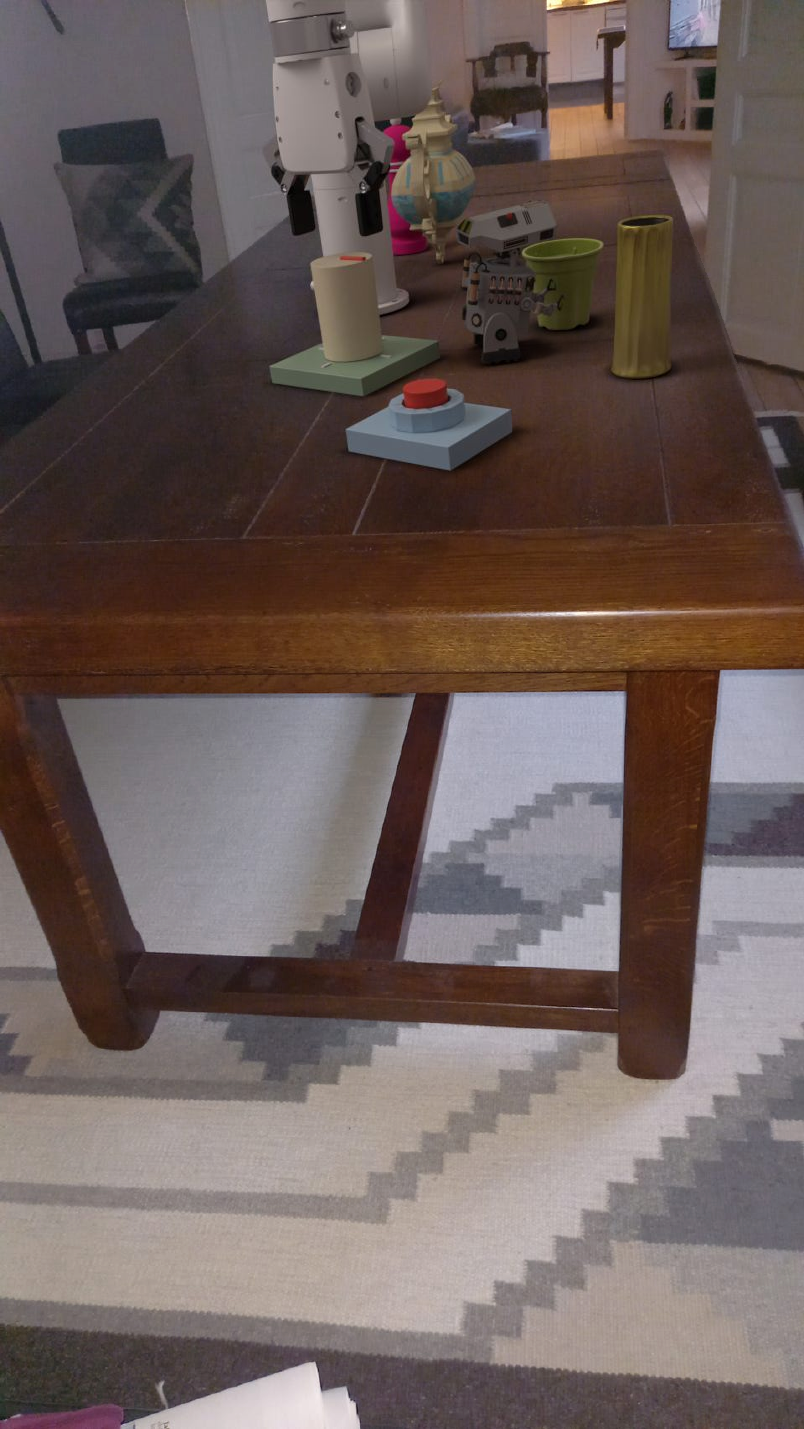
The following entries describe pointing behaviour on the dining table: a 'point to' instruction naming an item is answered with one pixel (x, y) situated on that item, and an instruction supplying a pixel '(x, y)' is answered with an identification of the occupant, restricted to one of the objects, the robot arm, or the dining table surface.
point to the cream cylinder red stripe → (347, 306)
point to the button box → (430, 432)
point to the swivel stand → (355, 367)
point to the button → (425, 393)
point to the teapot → (433, 177)
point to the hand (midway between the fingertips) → (337, 233)
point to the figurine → (504, 277)
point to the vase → (643, 297)
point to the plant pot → (565, 278)
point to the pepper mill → (400, 229)
